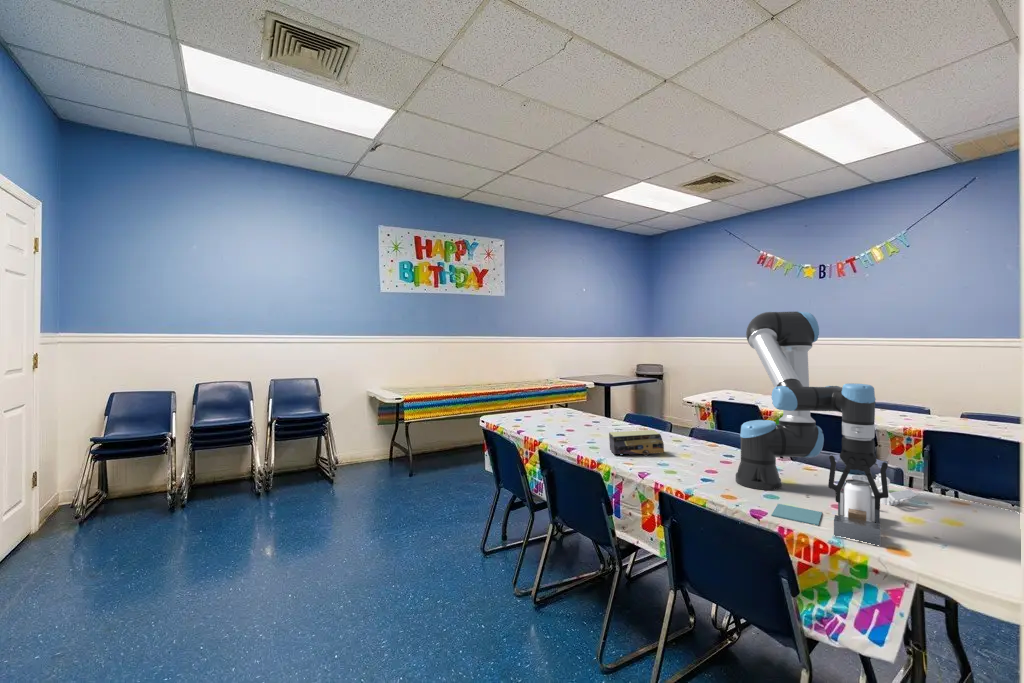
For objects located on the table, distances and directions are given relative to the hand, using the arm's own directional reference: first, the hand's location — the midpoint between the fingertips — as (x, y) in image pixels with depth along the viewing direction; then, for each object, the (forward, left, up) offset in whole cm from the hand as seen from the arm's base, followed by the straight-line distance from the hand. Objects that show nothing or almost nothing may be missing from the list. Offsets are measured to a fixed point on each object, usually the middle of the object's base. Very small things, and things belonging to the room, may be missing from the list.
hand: (857, 516), depth 132 cm
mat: (-12, -9, -3) cm, 15 cm away
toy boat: (-16, +29, -3) cm, 33 cm away
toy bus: (-93, -15, -3) cm, 94 cm away
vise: (-2, +3, -3) cm, 5 cm away
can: (0, 0, -2) cm, 2 cm away
